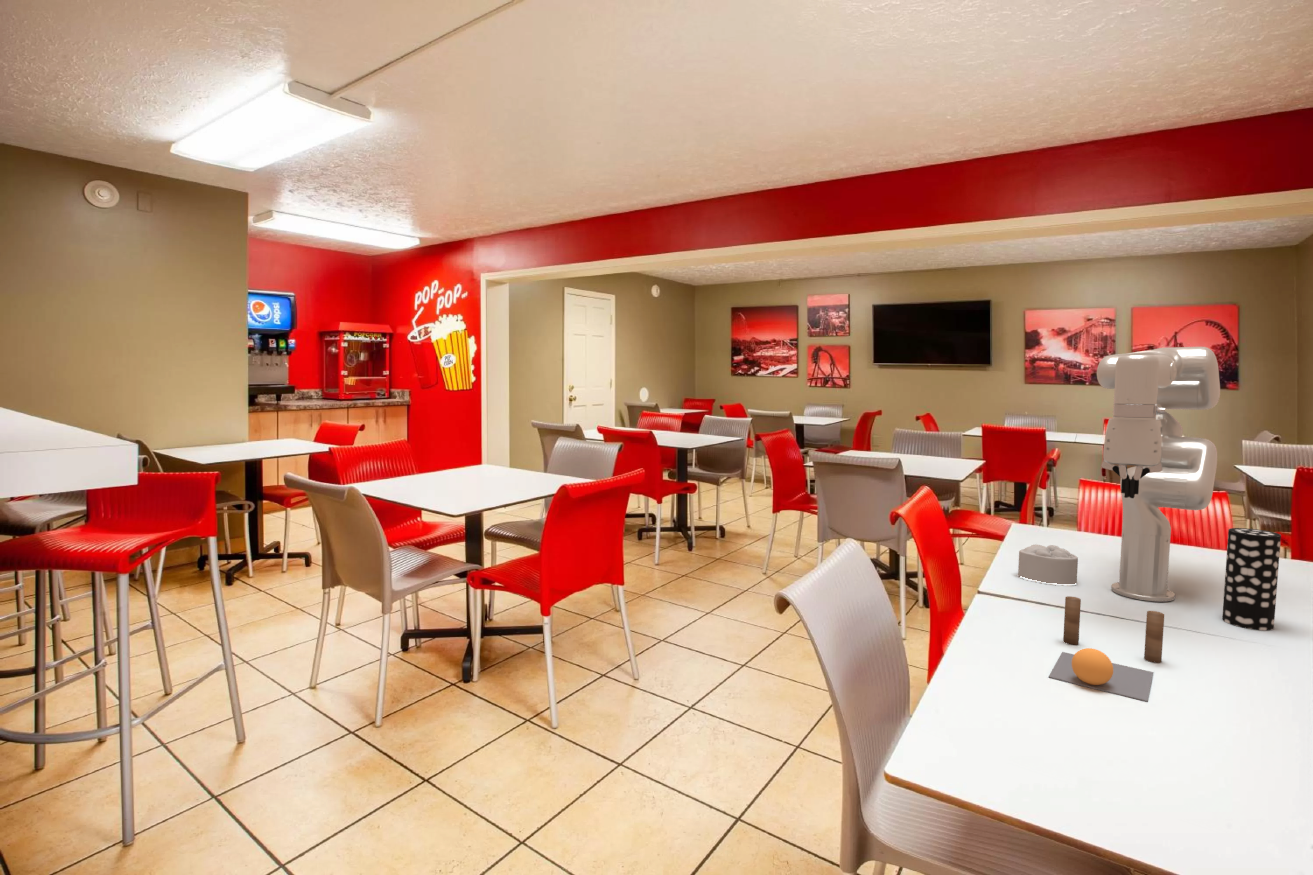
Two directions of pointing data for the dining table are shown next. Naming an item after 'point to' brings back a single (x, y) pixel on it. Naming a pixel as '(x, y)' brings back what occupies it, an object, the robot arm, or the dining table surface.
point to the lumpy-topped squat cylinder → (1048, 564)
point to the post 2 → (1154, 636)
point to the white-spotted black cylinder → (1251, 578)
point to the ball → (1092, 666)
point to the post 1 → (1072, 620)
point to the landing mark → (1121, 682)
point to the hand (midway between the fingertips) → (1129, 497)
